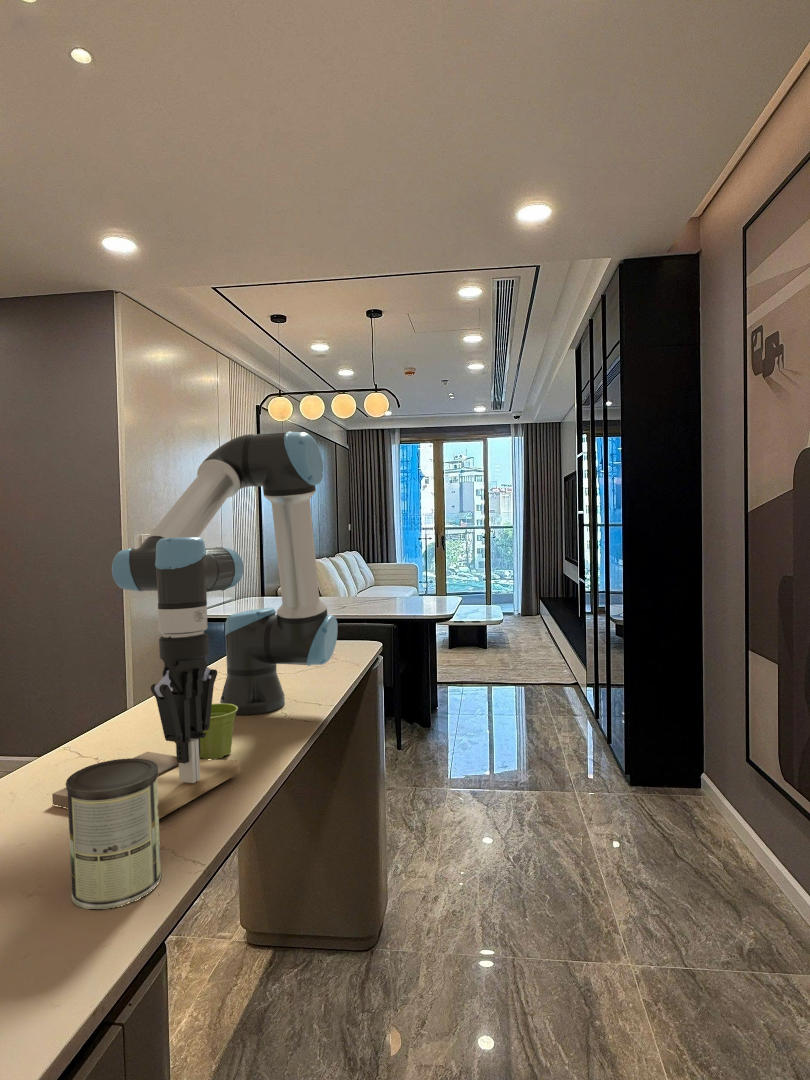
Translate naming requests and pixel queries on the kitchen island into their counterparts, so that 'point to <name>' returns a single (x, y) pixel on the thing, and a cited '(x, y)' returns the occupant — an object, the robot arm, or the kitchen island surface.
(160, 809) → the oak plank
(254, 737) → the kitchen island surface
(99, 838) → the coffee can
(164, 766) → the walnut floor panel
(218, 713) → the plant pot
